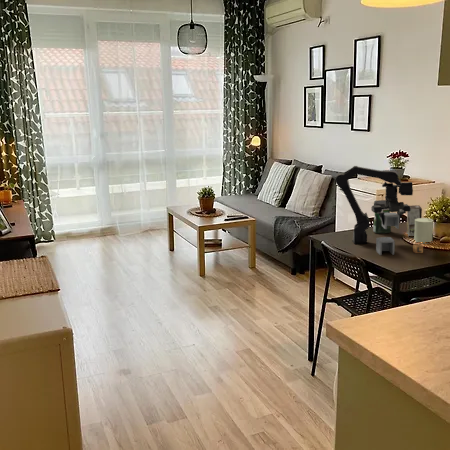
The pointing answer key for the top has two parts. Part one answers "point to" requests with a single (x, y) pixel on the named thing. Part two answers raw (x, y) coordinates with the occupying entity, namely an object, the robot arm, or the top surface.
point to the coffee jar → (377, 221)
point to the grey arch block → (391, 220)
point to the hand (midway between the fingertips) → (390, 224)
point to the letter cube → (418, 248)
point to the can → (423, 230)
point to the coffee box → (413, 218)
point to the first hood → (385, 245)
